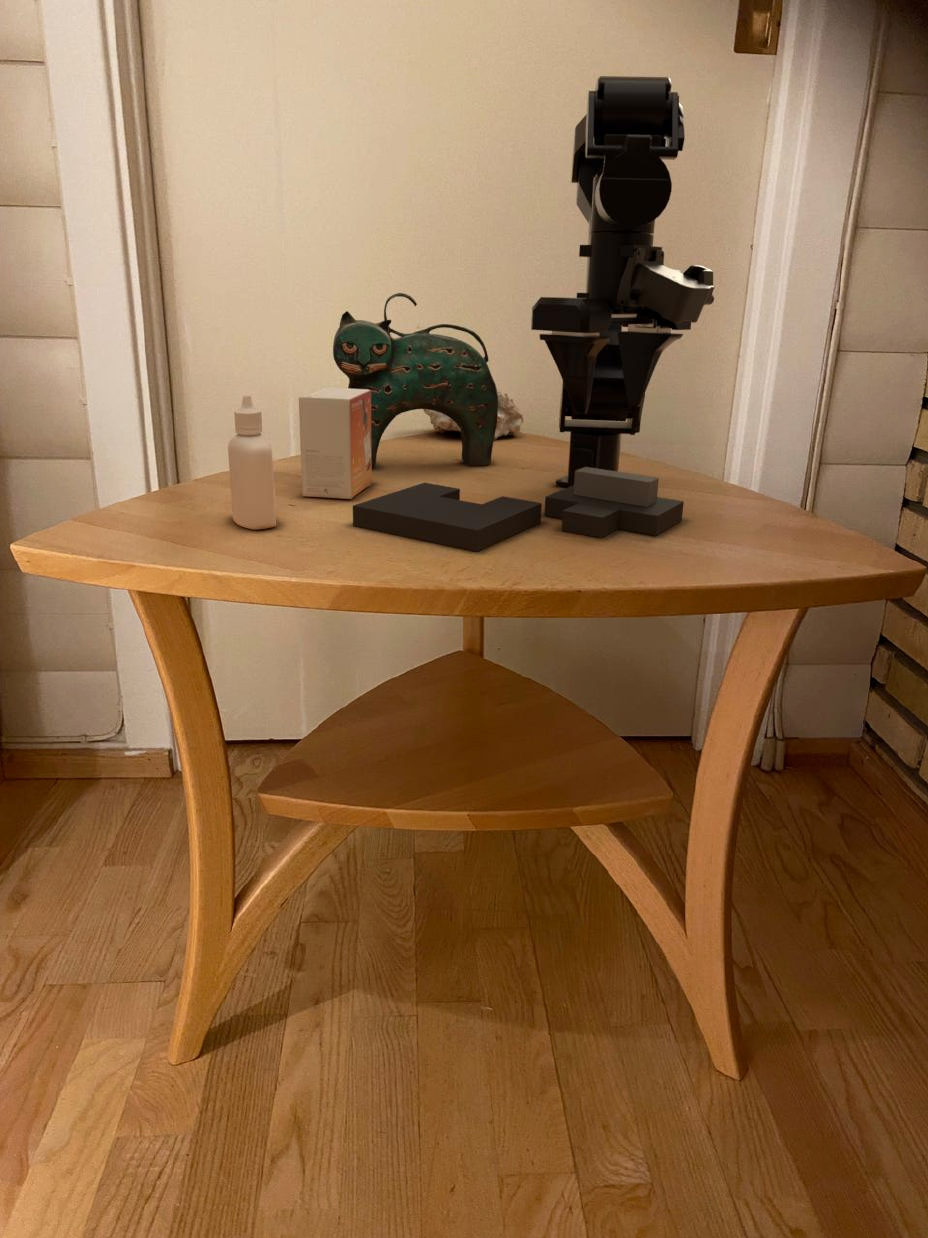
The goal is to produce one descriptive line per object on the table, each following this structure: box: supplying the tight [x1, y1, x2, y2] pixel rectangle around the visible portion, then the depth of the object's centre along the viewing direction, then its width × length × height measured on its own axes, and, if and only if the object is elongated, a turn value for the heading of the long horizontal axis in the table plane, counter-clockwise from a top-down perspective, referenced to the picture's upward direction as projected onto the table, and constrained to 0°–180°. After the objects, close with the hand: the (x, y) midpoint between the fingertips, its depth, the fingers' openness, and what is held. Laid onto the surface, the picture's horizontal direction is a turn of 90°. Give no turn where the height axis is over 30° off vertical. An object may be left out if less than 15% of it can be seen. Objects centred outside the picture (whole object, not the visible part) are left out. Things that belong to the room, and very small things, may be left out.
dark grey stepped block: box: [543, 467, 685, 539], centre depth 94 cm, size 11×12×4 cm
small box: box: [298, 386, 373, 500], centre depth 103 cm, size 8×6×10 cm
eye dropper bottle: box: [227, 394, 277, 531], centre depth 90 cm, size 4×6×12 cm
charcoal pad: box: [352, 482, 543, 553], centre depth 93 cm, size 12×14×2 cm
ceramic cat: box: [332, 292, 498, 470], centre depth 114 cm, size 20×6×20 cm, turn 104°
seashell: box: [422, 390, 524, 440], centre depth 136 cm, size 14×9×10 cm
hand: (608, 409), depth 92 cm, fingers open, 9 cm apart
